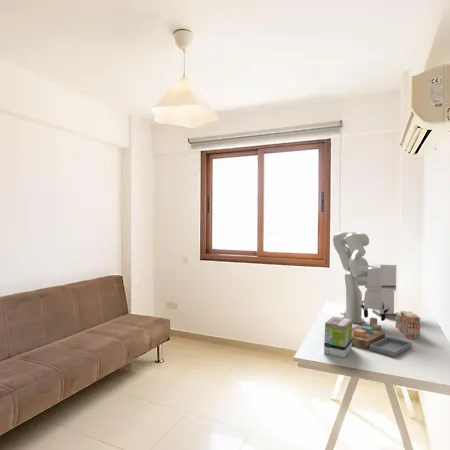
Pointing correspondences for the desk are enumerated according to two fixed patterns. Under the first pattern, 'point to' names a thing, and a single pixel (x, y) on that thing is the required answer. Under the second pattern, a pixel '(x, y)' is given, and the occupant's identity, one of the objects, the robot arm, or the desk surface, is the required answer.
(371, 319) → the scraper
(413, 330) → the stack of blocks
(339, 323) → the tea box
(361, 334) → the terracotta tile
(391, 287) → the tall white pillar
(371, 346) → the box
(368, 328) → the teal block
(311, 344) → the desk surface
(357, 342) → the brown wooden board
